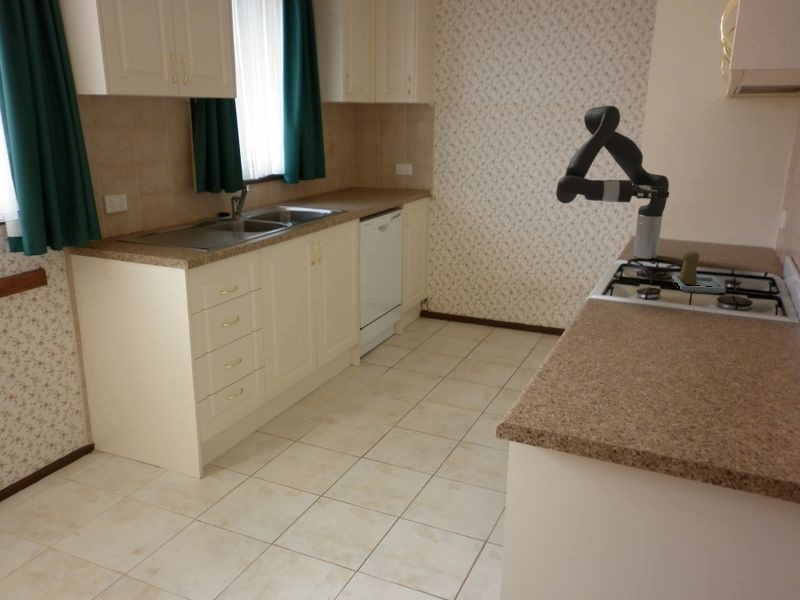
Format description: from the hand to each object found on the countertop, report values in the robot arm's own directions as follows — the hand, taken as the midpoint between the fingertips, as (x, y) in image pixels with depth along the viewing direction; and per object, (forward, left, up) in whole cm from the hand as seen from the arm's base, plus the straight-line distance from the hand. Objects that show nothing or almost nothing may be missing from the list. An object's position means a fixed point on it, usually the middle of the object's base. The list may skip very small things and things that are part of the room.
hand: (665, 192), depth 222 cm
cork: (0, +11, -31) cm, 33 cm away
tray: (+2, +14, -32) cm, 35 cm away
